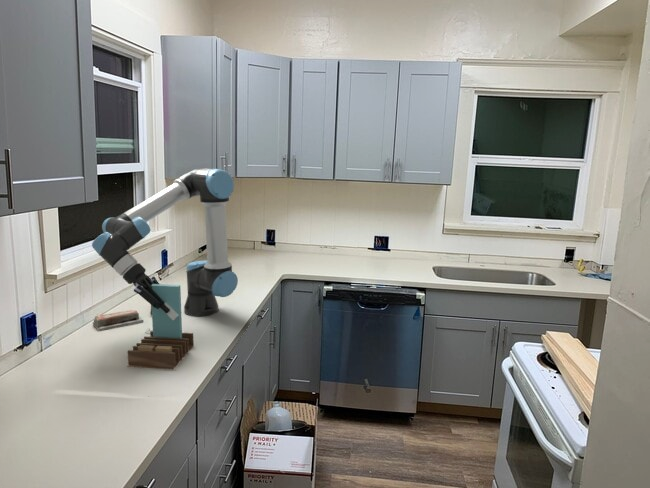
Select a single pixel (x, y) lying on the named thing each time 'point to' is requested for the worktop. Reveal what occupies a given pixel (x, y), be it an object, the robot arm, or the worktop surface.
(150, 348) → the offcut
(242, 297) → the worktop surface
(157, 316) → the tall board
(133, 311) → the packaged product
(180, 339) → the rack
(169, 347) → the offcut
